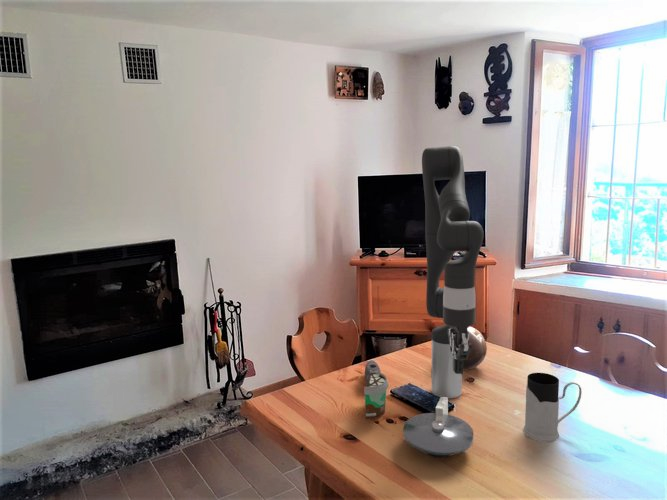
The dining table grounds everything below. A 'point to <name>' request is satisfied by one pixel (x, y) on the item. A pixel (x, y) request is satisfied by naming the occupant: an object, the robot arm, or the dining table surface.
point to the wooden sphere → (475, 349)
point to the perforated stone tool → (371, 369)
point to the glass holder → (544, 406)
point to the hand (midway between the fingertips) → (458, 372)
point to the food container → (375, 395)
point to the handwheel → (438, 432)
